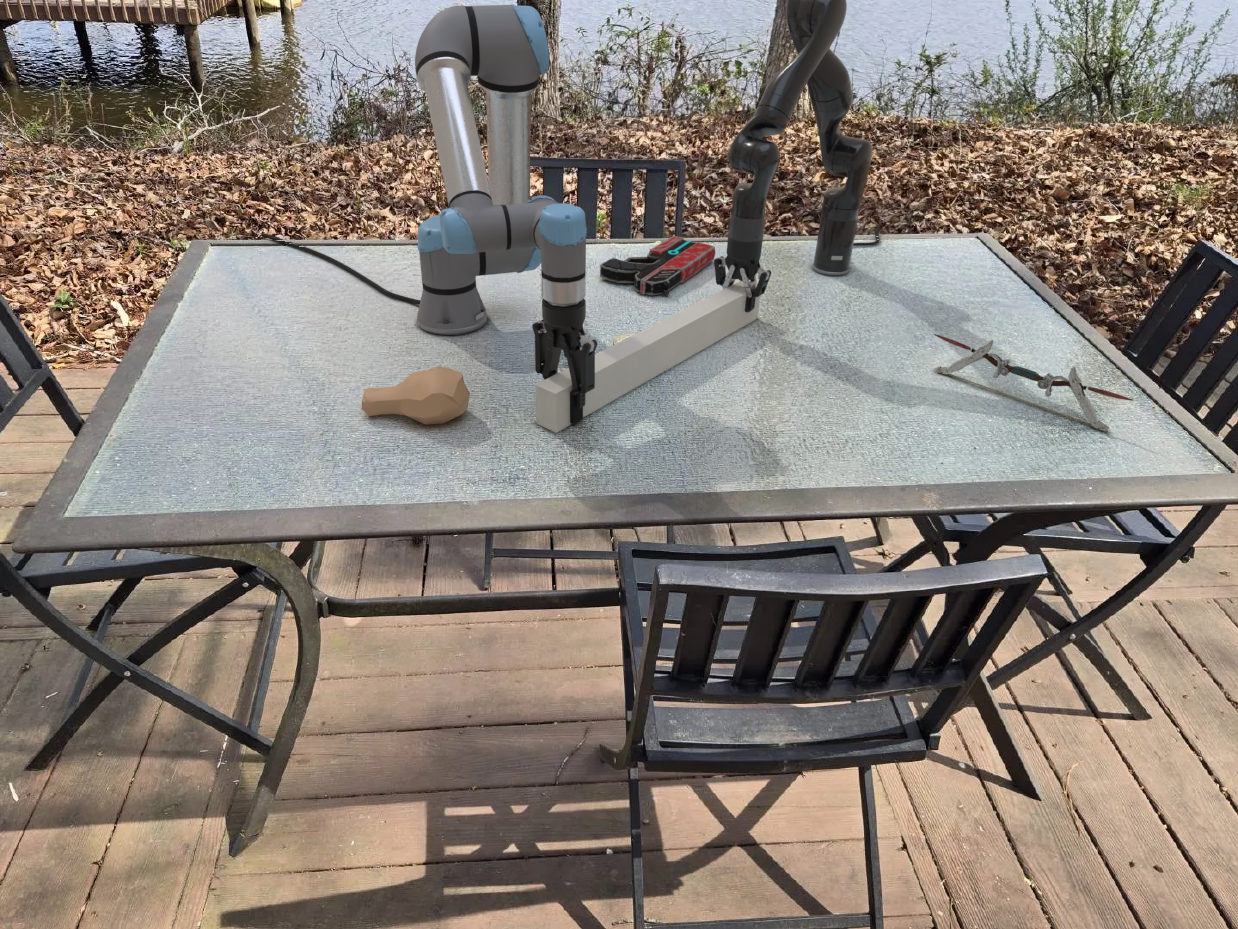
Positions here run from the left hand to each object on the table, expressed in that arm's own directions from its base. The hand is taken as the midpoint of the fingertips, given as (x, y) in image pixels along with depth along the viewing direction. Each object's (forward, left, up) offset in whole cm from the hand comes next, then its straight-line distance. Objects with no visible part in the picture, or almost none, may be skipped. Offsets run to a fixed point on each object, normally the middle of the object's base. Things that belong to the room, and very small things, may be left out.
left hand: (565, 415), depth 163 cm
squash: (-19, -20, -1) cm, 27 cm away
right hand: (-6, +57, +3) cm, 58 cm away
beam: (-3, +29, -1) cm, 29 cm away
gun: (-39, +66, -1) cm, 77 cm away
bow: (+54, +71, -1) cm, 89 cm away
